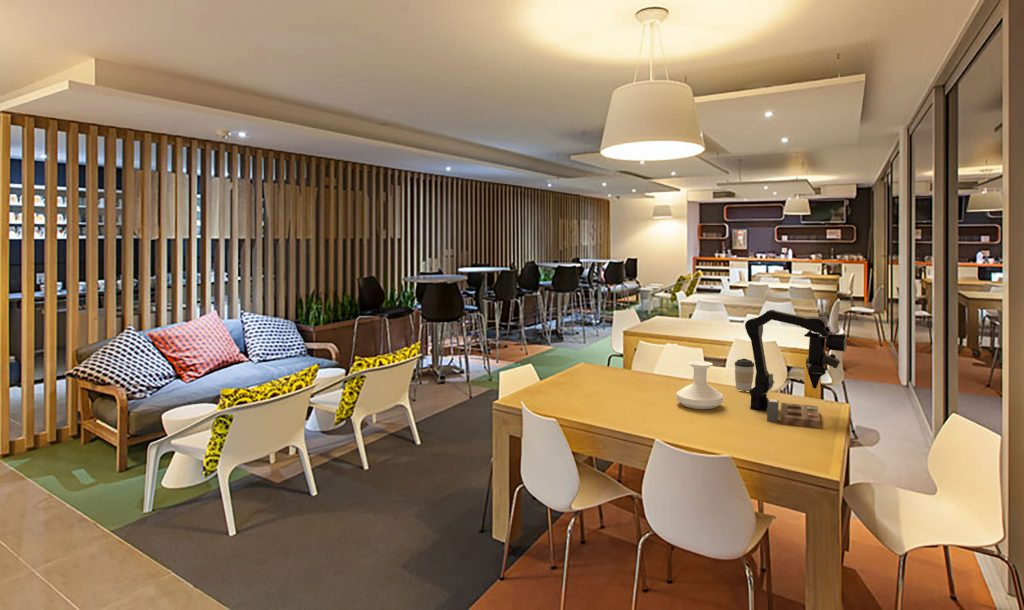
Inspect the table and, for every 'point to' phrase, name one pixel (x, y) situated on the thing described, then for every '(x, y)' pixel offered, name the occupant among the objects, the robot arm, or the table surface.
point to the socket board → (800, 415)
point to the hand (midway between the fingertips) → (813, 385)
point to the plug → (772, 410)
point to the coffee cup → (744, 374)
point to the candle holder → (699, 389)
